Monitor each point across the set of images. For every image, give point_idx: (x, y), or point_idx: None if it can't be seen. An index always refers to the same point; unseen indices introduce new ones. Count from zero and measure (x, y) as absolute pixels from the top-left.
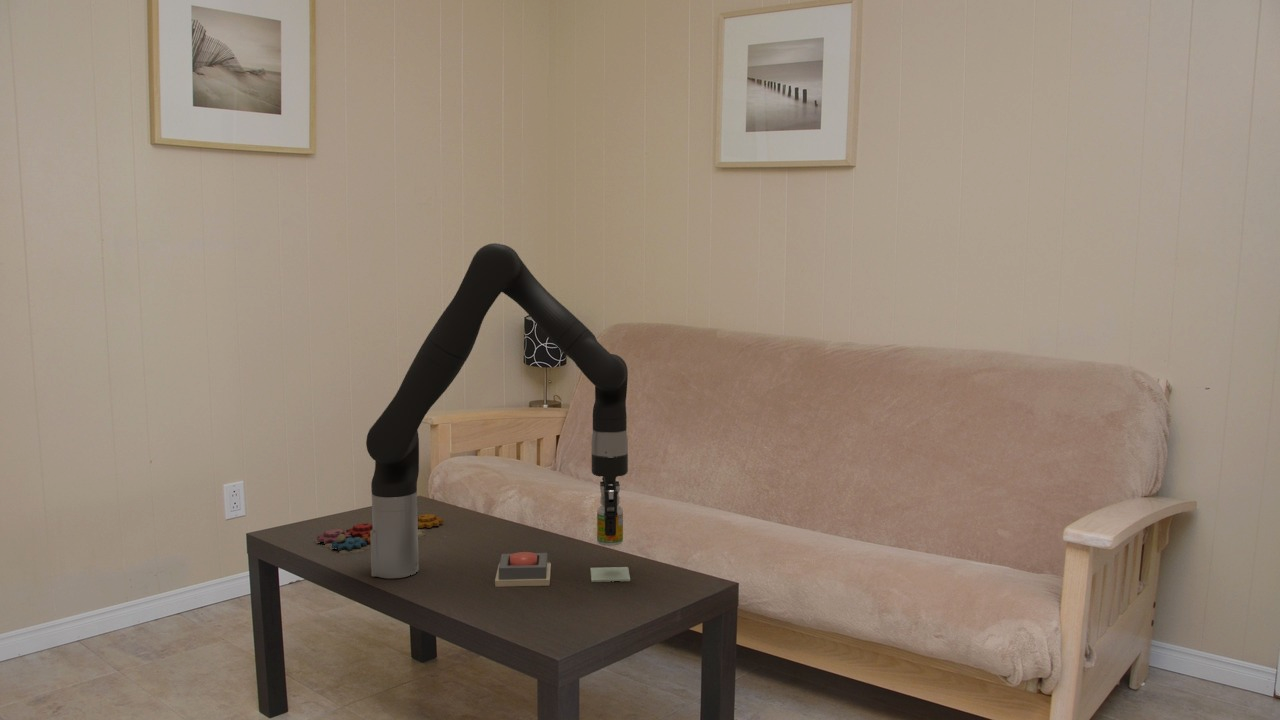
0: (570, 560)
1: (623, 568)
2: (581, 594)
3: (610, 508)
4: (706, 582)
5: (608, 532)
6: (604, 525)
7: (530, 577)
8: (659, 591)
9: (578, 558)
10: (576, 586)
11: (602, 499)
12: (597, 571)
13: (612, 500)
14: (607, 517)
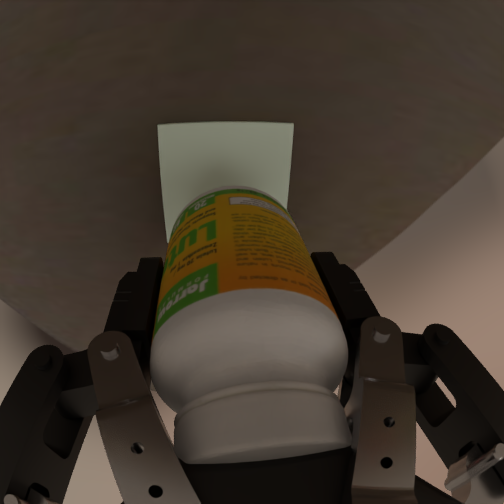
0: (393, 72)
1: None
2: (53, 106)
3: (182, 407)
4: None
5: (125, 282)
6: (162, 283)
7: None
8: (102, 299)
9: (406, 100)
10: (120, 78)
11: (110, 462)
12: (250, 144)
13: (35, 483)
14: (70, 354)
